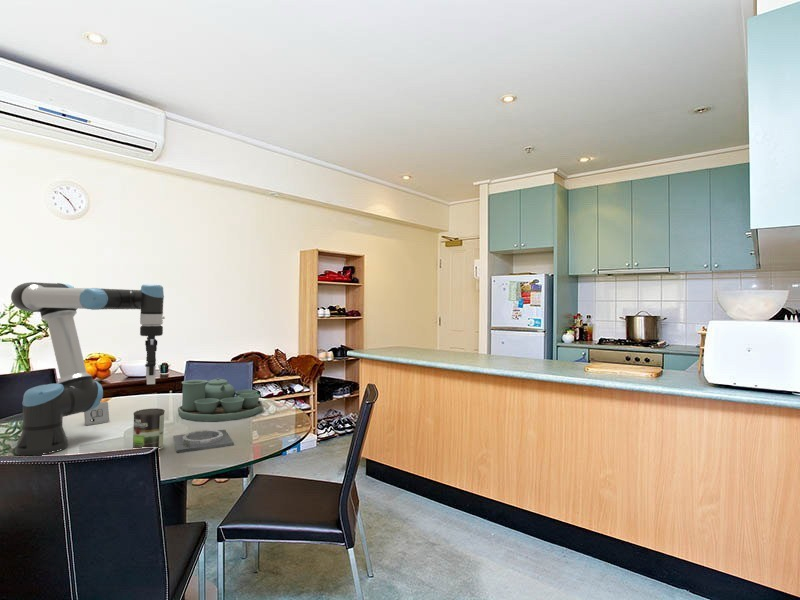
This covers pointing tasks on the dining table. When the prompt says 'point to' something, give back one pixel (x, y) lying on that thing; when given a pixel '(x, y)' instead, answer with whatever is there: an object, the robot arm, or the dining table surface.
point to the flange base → (202, 440)
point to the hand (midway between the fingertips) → (150, 381)
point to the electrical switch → (97, 414)
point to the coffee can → (148, 428)
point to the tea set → (217, 401)
